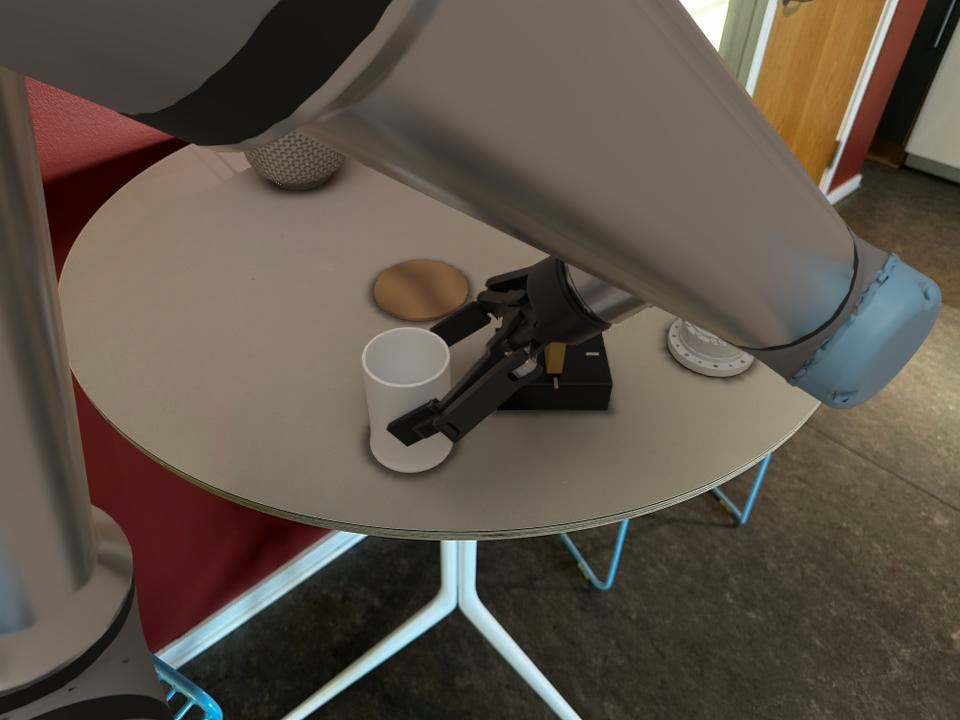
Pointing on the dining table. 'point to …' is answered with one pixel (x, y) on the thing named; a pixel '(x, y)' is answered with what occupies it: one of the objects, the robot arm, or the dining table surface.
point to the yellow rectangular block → (554, 357)
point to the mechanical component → (705, 351)
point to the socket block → (568, 381)
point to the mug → (405, 393)
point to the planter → (295, 162)
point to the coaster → (420, 290)
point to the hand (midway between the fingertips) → (419, 383)
